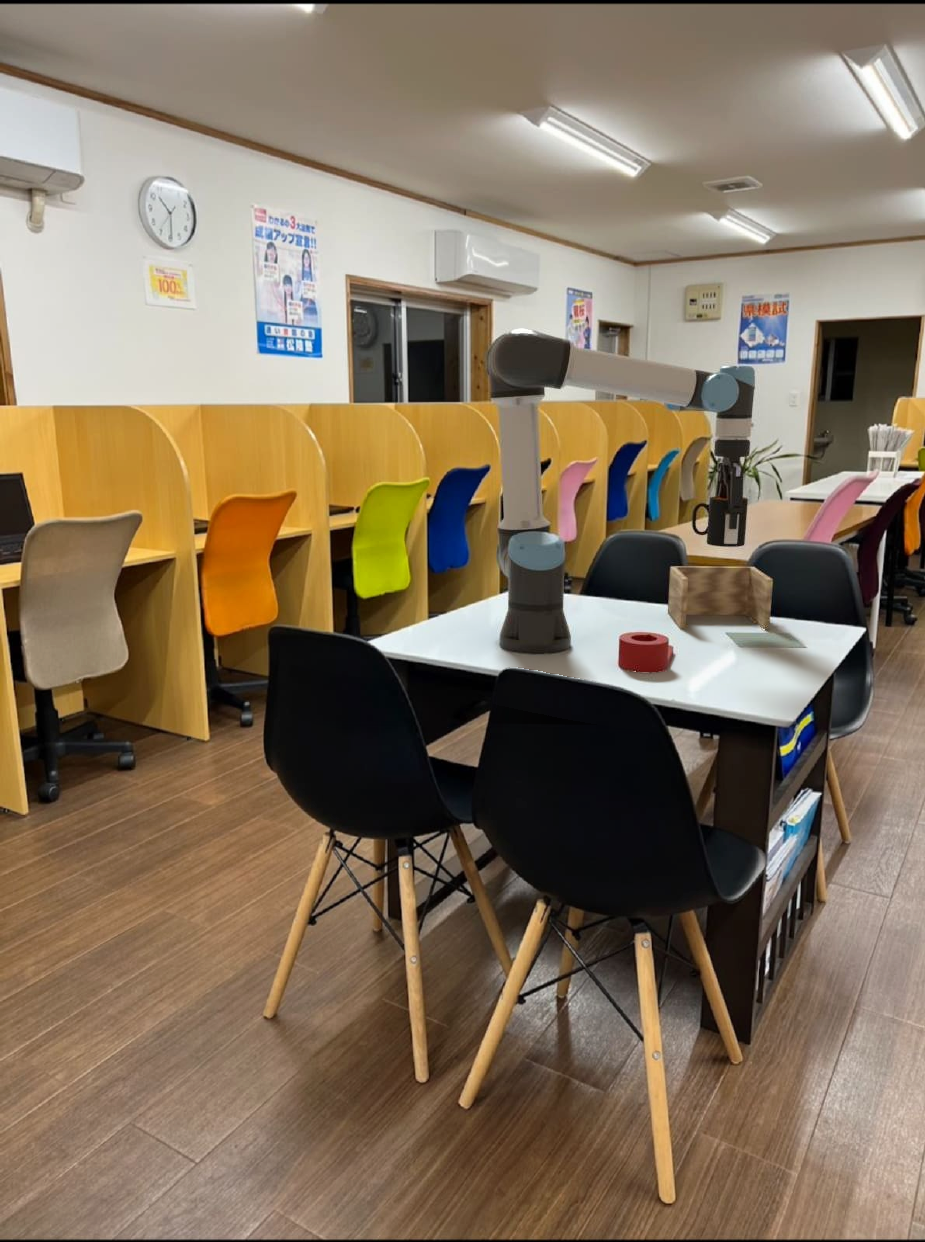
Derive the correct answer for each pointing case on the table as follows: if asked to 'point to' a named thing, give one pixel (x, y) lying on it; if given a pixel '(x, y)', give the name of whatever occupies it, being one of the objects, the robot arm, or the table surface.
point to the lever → (644, 652)
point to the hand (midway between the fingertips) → (725, 540)
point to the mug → (720, 522)
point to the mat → (765, 640)
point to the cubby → (719, 593)
